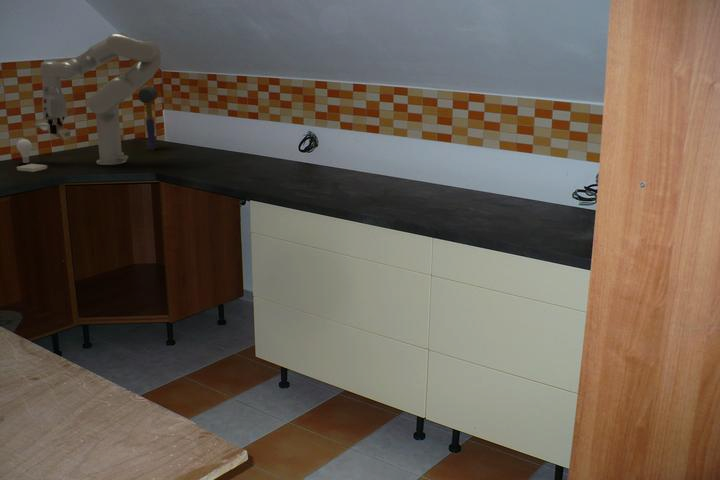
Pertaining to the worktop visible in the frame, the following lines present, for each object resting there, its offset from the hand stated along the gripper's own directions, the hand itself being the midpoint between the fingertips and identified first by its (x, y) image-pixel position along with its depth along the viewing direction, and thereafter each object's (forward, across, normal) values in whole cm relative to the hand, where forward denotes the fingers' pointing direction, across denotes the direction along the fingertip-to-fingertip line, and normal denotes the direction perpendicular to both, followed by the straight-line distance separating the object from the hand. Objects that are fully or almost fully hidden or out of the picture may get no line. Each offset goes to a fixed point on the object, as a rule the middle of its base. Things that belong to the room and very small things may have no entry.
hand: (56, 132), depth 356 cm
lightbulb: (+14, -6, +14) cm, 20 cm away
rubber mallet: (+13, +45, -15) cm, 49 cm away
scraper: (0, 0, +2) cm, 2 cm away
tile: (+13, -15, -3) cm, 20 cm away
